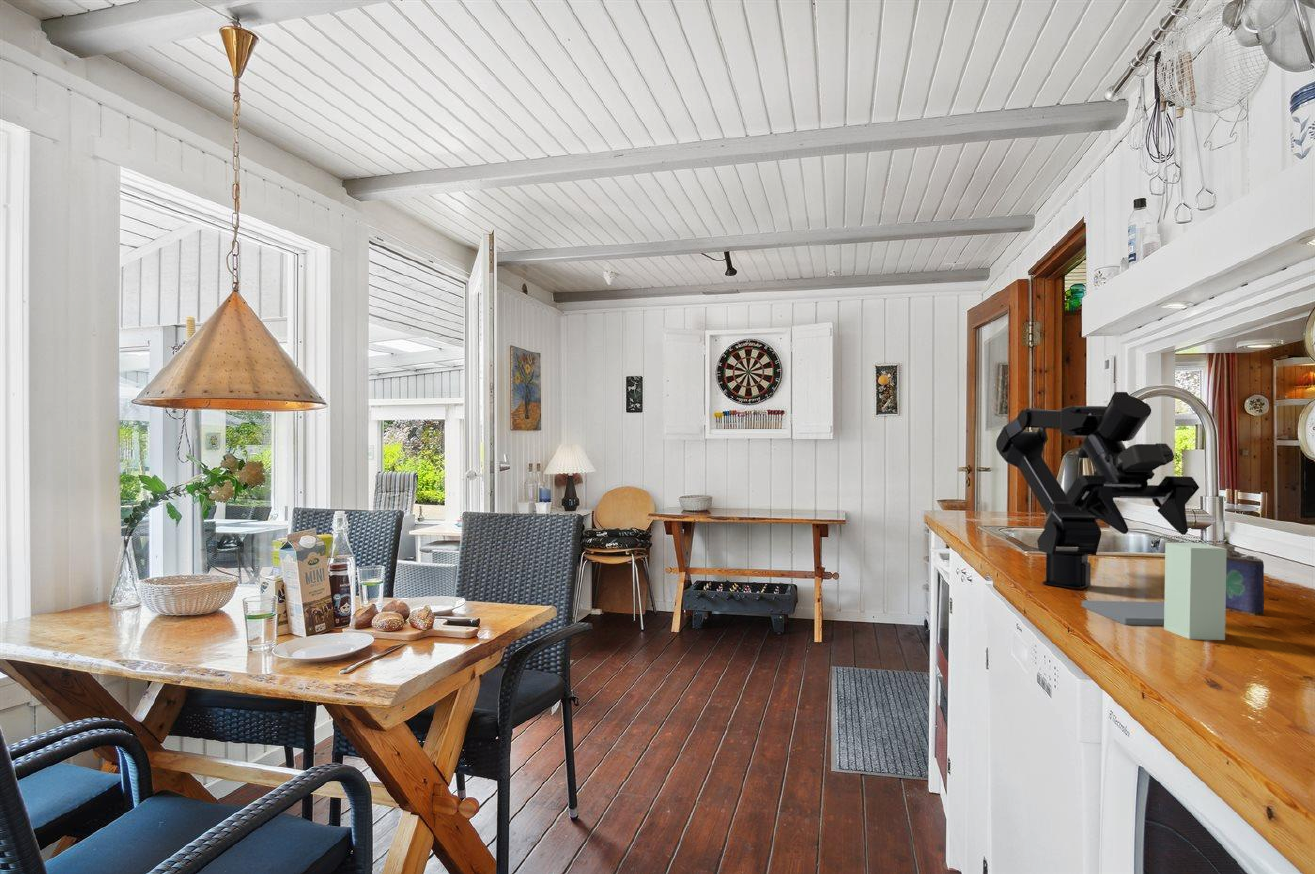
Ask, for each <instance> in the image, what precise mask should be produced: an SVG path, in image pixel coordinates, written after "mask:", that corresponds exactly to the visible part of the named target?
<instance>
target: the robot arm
mask: <svg viewBox="0 0 1315 874" xmlns="http://www.w3.org/2000/svg"><path fill="white" fill-rule="evenodd" d="M1151 413H1152V408H1151V406H1150V404H1148V403H1146V402H1144V401H1143V400H1141V399H1140V398H1138V397H1135V396H1132V395H1129V393H1128V392H1127V391H1114V392H1113V394H1112V396H1111V398H1110V401H1109V402H1108V404H1107V405H1106V406H1105V405H1104V406H1103V405H1070V406H1067V407H1063V408H1061V410H1058V409H1057V410H1055V409H1052V410H1051V409H1045V408H1031V407H1030V408H1024V409H1021V410H1020V412H1019V414H1018V415H1017V417H1015V418H1014V419H1012V420H1011V421H1010V422H1008V423H1006V425H1004V426H1003V428H1002V429H1001V431H1000V432H999V435H998V436H997V439H996V442H995V443H996V445H995V447H996V450H997V451H998V453H999V455H1000V456H1001V457H1002V459H1003V460H1004V461H1005V462H1006V463H1007V464H1010V465H1011V466H1014V467H1016V468H1018V470H1019V471H1020V473H1021V475H1022V477H1023V479H1025V481H1026V483H1027V484H1028V486H1029V487H1030V489H1031V491H1032V493H1033V494H1034V497H1035V498H1036V500H1037V501H1038V503H1039V505H1040V506H1041V508H1042V509H1043V511H1044V513H1045V515H1046V518H1045V521H1044V525H1043V528H1044V529H1043V531H1041V533H1040V535H1039V537H1038V538H1037V540H1036V542H1037V549H1038V551H1039V552H1042V553H1046V555H1045V559H1046V560H1045V580H1042V581H1041V584H1043V585H1050V586H1054V587H1059V588H1060V587H1061V588H1065V589H1066V588H1067V589H1072V590H1081V589H1085V588H1088V587H1090V586H1091V585H1092V583H1091V575H1092V574H1091V573H1092V572H1091V570H1092V569H1091V567H1092V565H1091V564H1092V563H1091V562H1089V561H1088V560H1089V556H1090V555H1091V556H1097V553H1098V549H1099V545H1100V540H1101V537H1102V529H1101V527H1100V525H1099V523H1098V521H1097V519H1099V520H1100V521H1102V522H1104V523H1106V524H1107V525H1108V526H1110V527H1111V528H1113V529H1115V530H1116V531H1118V532H1119V533H1121V534H1123V535H1126V534H1127V533H1128V532H1129V527H1128V525H1127V522H1126V521H1125V518H1124V516H1123V514H1122V513H1121V511H1120V510H1119V508H1118V506H1117V504H1116V502H1115V501H1114V499H1144V500H1145V499H1151V500H1152V503H1153V504H1154V506H1155V507H1156V508H1158V509H1157V512H1158V513H1159V514H1160V516H1162V517H1163V518H1164V519H1165V521H1166V522H1167V523H1169V524H1170V525H1171V527H1173V528H1174V529H1175V530H1176V531H1177V532H1178V533H1179V534H1180V535H1182V536H1184V535H1186V534H1187V533H1188V532H1189V528H1188V521H1187V515H1186V513H1187V512H1186V504H1187V503H1188V502H1189V501H1190V500H1191V498H1192V497H1193V496H1194V495H1195V493H1196V492H1197V491H1198V490H1199V489H1200V486H1199V485H1198V483H1197V482H1196V481H1195V479H1194V478H1193V476H1187V475H1186V476H1185V475H1183V476H1182V475H1181V476H1180V475H1176V476H1175V475H1165V476H1164V478H1163V479H1162V480H1161V482H1160V483H1159V484H1157V485H1156V484H1153V485H1151V484H1150V485H1149V482H1148V480H1152V479H1153V478H1154V476H1155V475H1156V474H1155V473H1154V470H1155V469H1158V468H1159V467H1161V466H1166V465H1168V464H1170V463H1171V462H1173V461H1174V459H1175V455H1174V452H1173V450H1172V448H1171V447H1170V446H1169V445H1168V444H1167V443H1157V442H1156V443H1155V444H1154V443H1151V444H1150V443H1148V444H1147V443H1137V444H1133V445H1129V447H1126V446H1125V444H1124V442H1129V441H1131V440H1133V439H1134V438H1136V436H1137V434H1138V433H1139V431H1140V430H1141V428H1142V427H1143V425H1144V424H1145V423H1146V421H1147V420H1148V418H1149V417H1150V416H1151ZM1026 428H1029V429H1030V428H1035V429H1036V428H1037V429H1038V430H1037V431H1025V430H1026ZM1047 429H1052V430H1053V429H1054V430H1060V431H1059V433H1061V434H1063V435H1065V436H1068V437H1071V438H1084V440H1083V441H1082V442H1081V445H1080V449H1079V450H1078V452H1077V457H1078V458H1079V459H1089V461H1090V463H1091V465H1092V466H1093V469H1095V471H1094V472H1093V474H1078V475H1077V477H1076V478H1075V480H1074V481H1073V483H1072V485H1071V486H1070V488H1069V489H1068V491H1067V492H1065V491H1064V489H1063V487H1062V486H1061V485H1060V483H1059V481H1058V480H1057V478H1056V477H1055V475H1054V474H1053V472H1052V470H1051V469H1050V467H1049V466H1048V465H1047V463H1046V461H1045V460H1044V457H1043V456H1042V455H1043V452H1044V449H1045V445H1046V444H1047V441H1048V440H1049V437H1048V433H1047Z"/></svg>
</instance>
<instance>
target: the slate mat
mask: <svg viewBox="0 0 1315 874" xmlns="http://www.w3.org/2000/svg"><path fill="white" fill-rule="evenodd" d="M1081 607H1082V608H1084V609H1086V610H1090V611H1092V612H1094V613H1097V614H1099V615H1100V616H1103V617H1106V618H1108V619H1110V620H1113V621H1116V622H1118V623H1120V624H1122V625H1125V626H1164V601H1135V600H1133V601H1132V600H1130V601H1129V600H1127V601H1126V600H1125V601H1123V600H1122V601H1121V600H1081Z"/></svg>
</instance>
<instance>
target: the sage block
mask: <svg viewBox="0 0 1315 874" xmlns="http://www.w3.org/2000/svg"><path fill="white" fill-rule="evenodd" d="M1226 554H1227V549H1226V548H1223V547H1220V546H1216V545H1210V544H1206V543H1201V542H1165V549H1164V558H1165V559H1164V601H1163V602H1164V625H1163V630H1165V631H1167V632H1169V633H1170V632H1171V633H1173V634H1175V635H1178V636H1180V637H1183V638H1185V639H1188V640H1198V641H1199V640H1203V641H1206V640H1207V641H1210V640H1215V641H1217V640H1218V641H1225V640H1226V611H1227V610H1226Z"/></svg>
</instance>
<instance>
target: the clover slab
mask: <svg viewBox="0 0 1315 874" xmlns="http://www.w3.org/2000/svg"><path fill="white" fill-rule="evenodd" d="M1222 548H1226V549H1227V554H1226V610H1225V611H1232V612H1235V613H1237V612H1238V613H1242V614H1247V615H1251V616H1258V617H1262V616H1264V612H1265V611H1264V609H1265V592H1264V591H1265V587H1264V586H1265V584H1264V582H1265V579H1264V578H1265V572H1264V571H1265V564H1264V561H1263V560H1262V559H1261V558H1255V557H1254V555H1249V554H1247V555H1246V556H1245V554H1244V553H1243V554H1242V553H1241V552H1239V551H1236V550H1235V549H1236V548H1238V547H1237V545H1234V544H1233V545H1228V546H1226V545H1225V546H1223V547H1222Z"/></svg>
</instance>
